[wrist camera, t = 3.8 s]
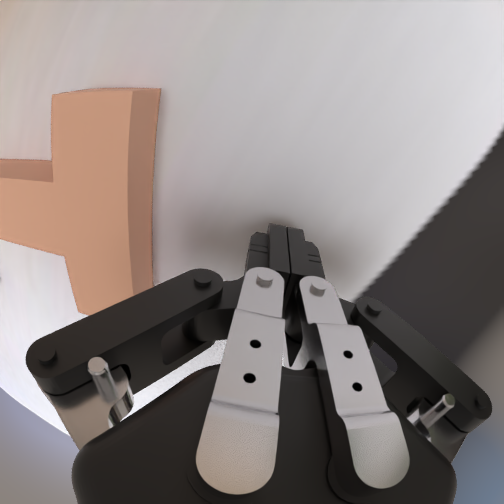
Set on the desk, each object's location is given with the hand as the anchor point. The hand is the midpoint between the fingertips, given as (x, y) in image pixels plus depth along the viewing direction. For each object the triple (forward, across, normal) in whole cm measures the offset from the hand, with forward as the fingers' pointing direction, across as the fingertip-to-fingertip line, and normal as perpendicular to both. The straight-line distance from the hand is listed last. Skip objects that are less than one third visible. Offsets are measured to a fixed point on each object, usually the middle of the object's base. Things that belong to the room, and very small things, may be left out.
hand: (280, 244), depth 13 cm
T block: (+2, +12, 0) cm, 13 cm away
